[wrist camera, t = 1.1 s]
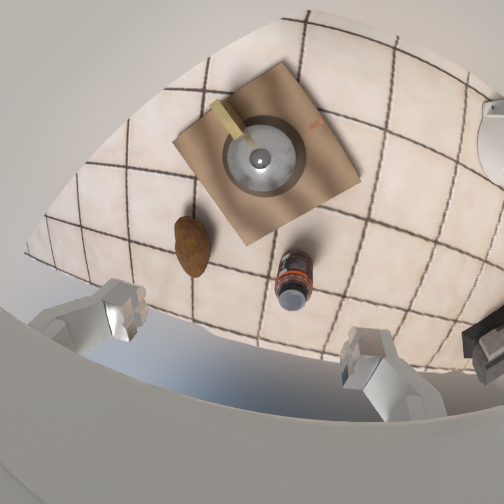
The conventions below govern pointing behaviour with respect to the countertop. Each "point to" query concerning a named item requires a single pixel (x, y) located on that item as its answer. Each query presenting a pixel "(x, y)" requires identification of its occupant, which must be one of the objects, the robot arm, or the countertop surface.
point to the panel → (306, 146)
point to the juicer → (486, 346)
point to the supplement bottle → (294, 280)
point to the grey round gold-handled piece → (256, 151)
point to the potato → (191, 246)
